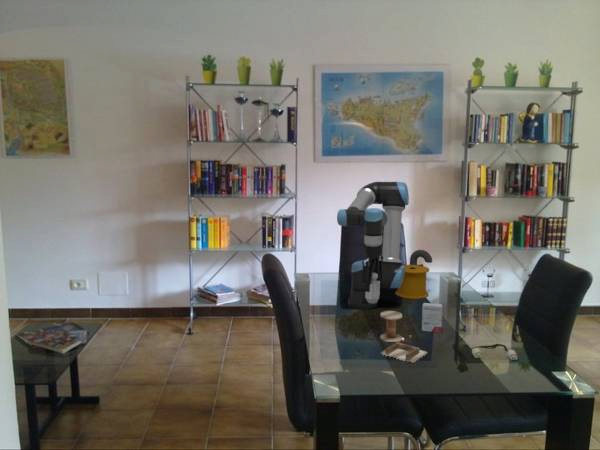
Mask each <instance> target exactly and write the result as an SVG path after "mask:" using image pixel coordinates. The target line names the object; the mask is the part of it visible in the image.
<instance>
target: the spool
mask: <svg viewBox="0 0 600 450" xmlns="http://www.w3.org/2000/svg"><path fill="white" fill-rule="evenodd" d="M402 265H403V266H404V267H405V273H404V279H403V282H402V285H401V287H400V288H397V290H396V291H395V295H396V296H398V297H400V298H403V299H413V300H414V299H415V300H417V299H418V300H419V299H425V298H428V297H429V292H428V291H427V273H428V272H430V268H429V267H428V266H424V265H423V266H419V265H420V264H417V265H410V264H402Z"/></svg>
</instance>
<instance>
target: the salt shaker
mask: <svg viewBox="0 0 600 450" xmlns="http://www.w3.org/2000/svg"><path fill="white" fill-rule="evenodd" d="M377 278H378V274H377V273H372V279H371V284H372V299H367V302H368V303H373V304H374V303H377V304H378V301H379V299H380V296H379V292H378V287H377V281H376V279H377Z"/></svg>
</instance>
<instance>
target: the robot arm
mask: <svg viewBox="0 0 600 450" xmlns="http://www.w3.org/2000/svg"><path fill="white" fill-rule="evenodd" d="M409 196H410V195H409V188H408V185H407V183H405V182H402V181H373V182H370V183H368V184H366V185H364V186H362V187H361V188H360V189H359V190H358V191H357V193H356V197H355V198H354V199H353V201H352V202H351V203H350V205H349V206H348V207H347V209H344V208H343V209H342V208H341V209H339V210H338V212H337V214H336V215H337V216H336V221H337V224H338V226H343V227H355V228H356V227H362V228H364V235H363V236H364V237H363V239H364V243H363V244H364V246H363V247H364V248H363V253H364V254H365V255H366V258H365V259H362V260H358V261H355V262H353V263H352V264H351V270H350V273H351V287H350V288H351V291H350V293H349V296H348V299H347V305H348V306H349V307H350V308H352V309H357V310H358V309H359V310H370V309H375V308H376V307H378V302H377V303H374V304H373V303H368V302H367V299H372V284H371V279H372V273H377V274H378V278H377V279H376V281H377V287H378V292H379V297H380V294H381V292H380V288H385V289H398V288H400V287H401V285H402V282H403V279H404V273H405V267H404V266H403V265H404V264H403V262H402V260H401V259H400V252H401V233H402V216H403V215H402V214H403V211H405V210H406V206H408V205H409V203H410V197H409ZM372 205H381V208H382V209H381V208H377V207H375V208H374V207H373V208H372V207H371V208H369V207H370V206H372Z"/></svg>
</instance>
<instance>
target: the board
mask: <svg viewBox="0 0 600 450" xmlns="http://www.w3.org/2000/svg"><path fill="white" fill-rule="evenodd" d="M381 354H382V355H381ZM426 354H427V355H428V351H426V350H422V349H420V347H417V346H413V345H409V344H406V343H401V342H396V343H392V345H390V346H388V347H387V348H385V349H384V350H383V351H381V352H380V355H381V356H384V355H385V356H384V357H387V356H389V357H388V358H391V357H393V358H392V359H394V358H396V359H395V360H398V359H399V360H398V361H401V360H402V361H401V362H405V361H407V362H406V363H408V362H411V363H410V364H412V363H414V362H415V363H417V362H418V361H420V360H421V359H422V358H423V356H424V357H425V356H426ZM420 358H421V359H420ZM419 359H420V360H419ZM417 360H418V361H417ZM416 361H417V362H416ZM415 363H414V364H415Z"/></svg>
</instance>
